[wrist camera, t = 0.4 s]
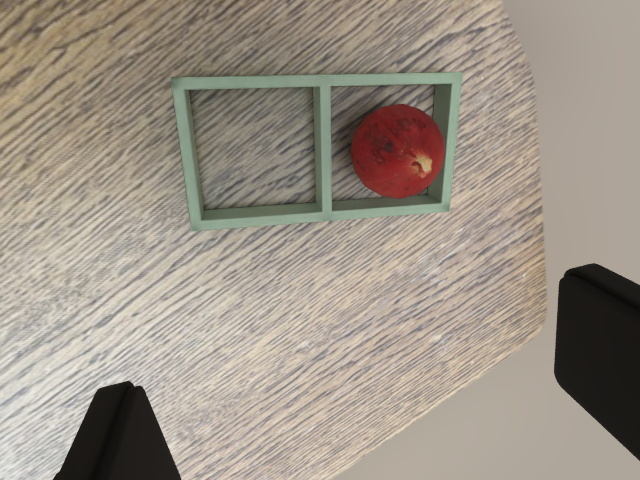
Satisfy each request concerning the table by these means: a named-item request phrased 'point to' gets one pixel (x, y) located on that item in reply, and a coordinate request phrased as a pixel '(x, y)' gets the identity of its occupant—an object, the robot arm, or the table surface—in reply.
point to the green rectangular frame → (318, 151)
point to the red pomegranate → (397, 151)
